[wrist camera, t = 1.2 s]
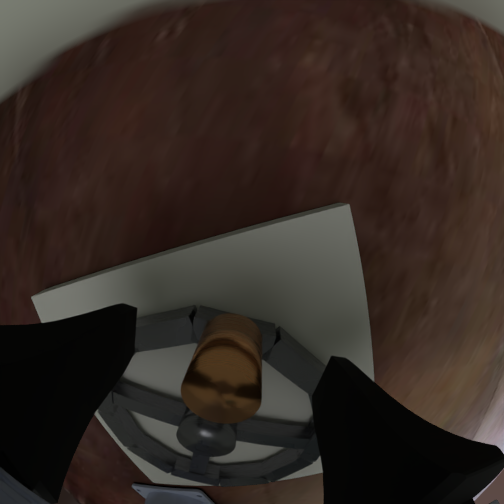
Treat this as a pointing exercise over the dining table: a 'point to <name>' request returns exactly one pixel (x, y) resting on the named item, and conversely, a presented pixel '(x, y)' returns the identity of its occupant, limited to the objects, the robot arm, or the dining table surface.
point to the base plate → (243, 303)
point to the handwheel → (217, 397)
